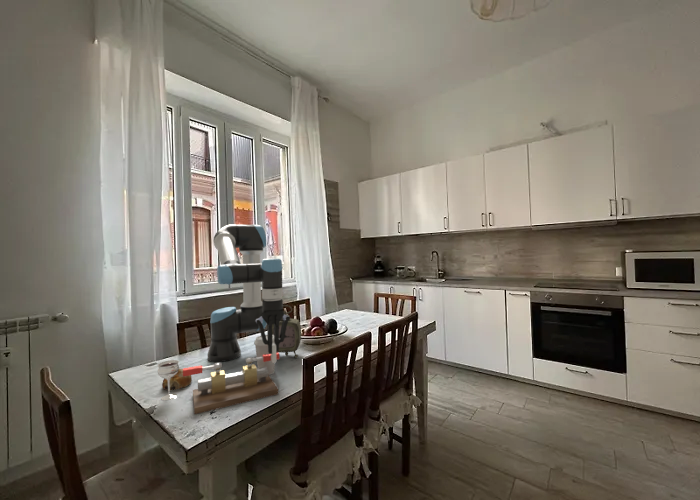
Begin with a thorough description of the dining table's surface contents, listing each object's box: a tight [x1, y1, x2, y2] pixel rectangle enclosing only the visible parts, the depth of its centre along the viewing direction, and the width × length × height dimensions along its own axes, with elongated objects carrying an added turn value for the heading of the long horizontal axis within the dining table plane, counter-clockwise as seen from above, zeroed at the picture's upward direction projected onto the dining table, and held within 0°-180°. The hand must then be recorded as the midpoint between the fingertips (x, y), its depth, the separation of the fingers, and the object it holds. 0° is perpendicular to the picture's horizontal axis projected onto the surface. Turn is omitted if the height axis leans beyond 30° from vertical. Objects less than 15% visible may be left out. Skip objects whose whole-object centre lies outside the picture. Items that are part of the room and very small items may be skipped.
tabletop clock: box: [272, 304, 302, 359], centre depth 152 cm, size 14×9×25 cm, turn 91°
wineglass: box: [157, 359, 180, 401], centre depth 112 cm, size 7×7×12 cm
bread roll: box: [161, 368, 193, 392], centre depth 122 cm, size 10×10×8 cm
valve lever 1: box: [182, 362, 223, 376], centre depth 110 cm, size 12×3×2 cm, turn 117°
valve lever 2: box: [245, 352, 280, 365], centre depth 120 cm, size 12×3×2 cm, turn 116°
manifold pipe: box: [197, 363, 268, 395], centre depth 115 cm, size 4×24×8 cm, turn 118°
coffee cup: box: [253, 334, 276, 376], centre depth 132 cm, size 10×10×15 cm
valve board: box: [192, 375, 279, 415], centre depth 113 cm, size 15×27×2 cm, turn 118°
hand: (273, 361), depth 119 cm, fingers closed
